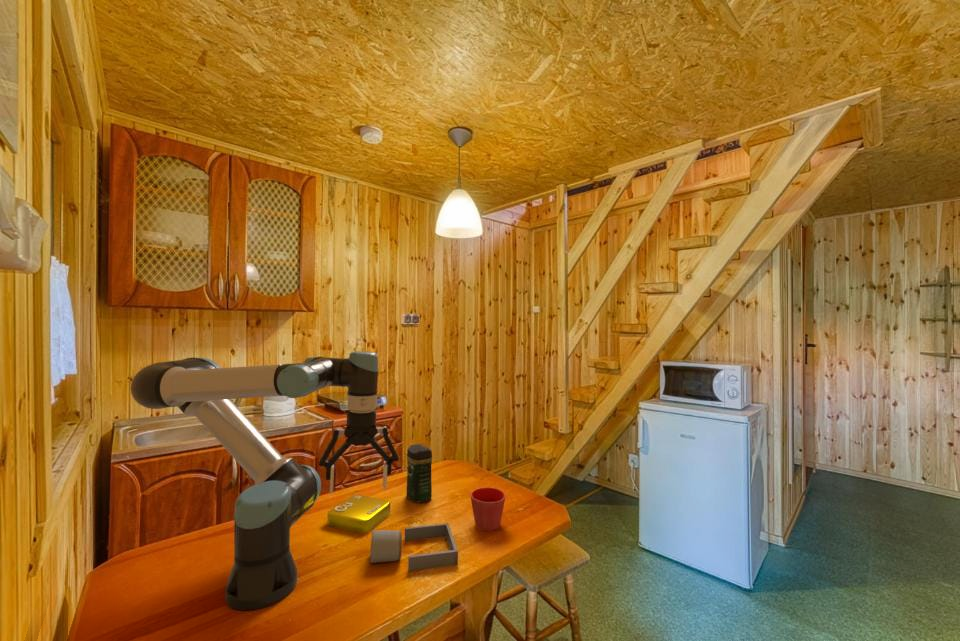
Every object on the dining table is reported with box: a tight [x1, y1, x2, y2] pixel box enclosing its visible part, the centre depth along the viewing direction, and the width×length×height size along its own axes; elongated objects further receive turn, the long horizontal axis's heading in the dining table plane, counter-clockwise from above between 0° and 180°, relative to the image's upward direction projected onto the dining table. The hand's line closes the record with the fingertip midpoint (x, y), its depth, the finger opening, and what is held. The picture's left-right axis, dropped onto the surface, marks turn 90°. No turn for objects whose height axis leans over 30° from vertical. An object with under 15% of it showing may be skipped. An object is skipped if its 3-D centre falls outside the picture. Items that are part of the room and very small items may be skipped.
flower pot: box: [470, 486, 506, 532], centre depth 129 cm, size 11×11×10 cm
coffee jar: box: [405, 443, 433, 503], centre depth 147 cm, size 10×8×19 cm
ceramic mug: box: [369, 529, 403, 564], centre depth 112 cm, size 11×8×8 cm
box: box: [404, 522, 459, 572], centre depth 114 cm, size 13×15×4 cm
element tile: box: [326, 494, 391, 535], centre depth 132 cm, size 15×15×5 cm
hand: (358, 489), depth 110 cm, fingers open, 13 cm apart
